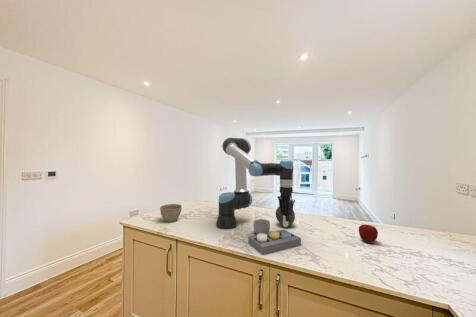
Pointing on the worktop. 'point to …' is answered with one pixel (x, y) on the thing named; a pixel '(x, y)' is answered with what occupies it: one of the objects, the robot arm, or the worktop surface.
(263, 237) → the button ivory
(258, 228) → the teacup
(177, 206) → the planter bowl
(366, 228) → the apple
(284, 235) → the button blue
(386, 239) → the worktop surface
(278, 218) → the smooth brown stone
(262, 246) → the three ball holder
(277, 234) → the button ochre
